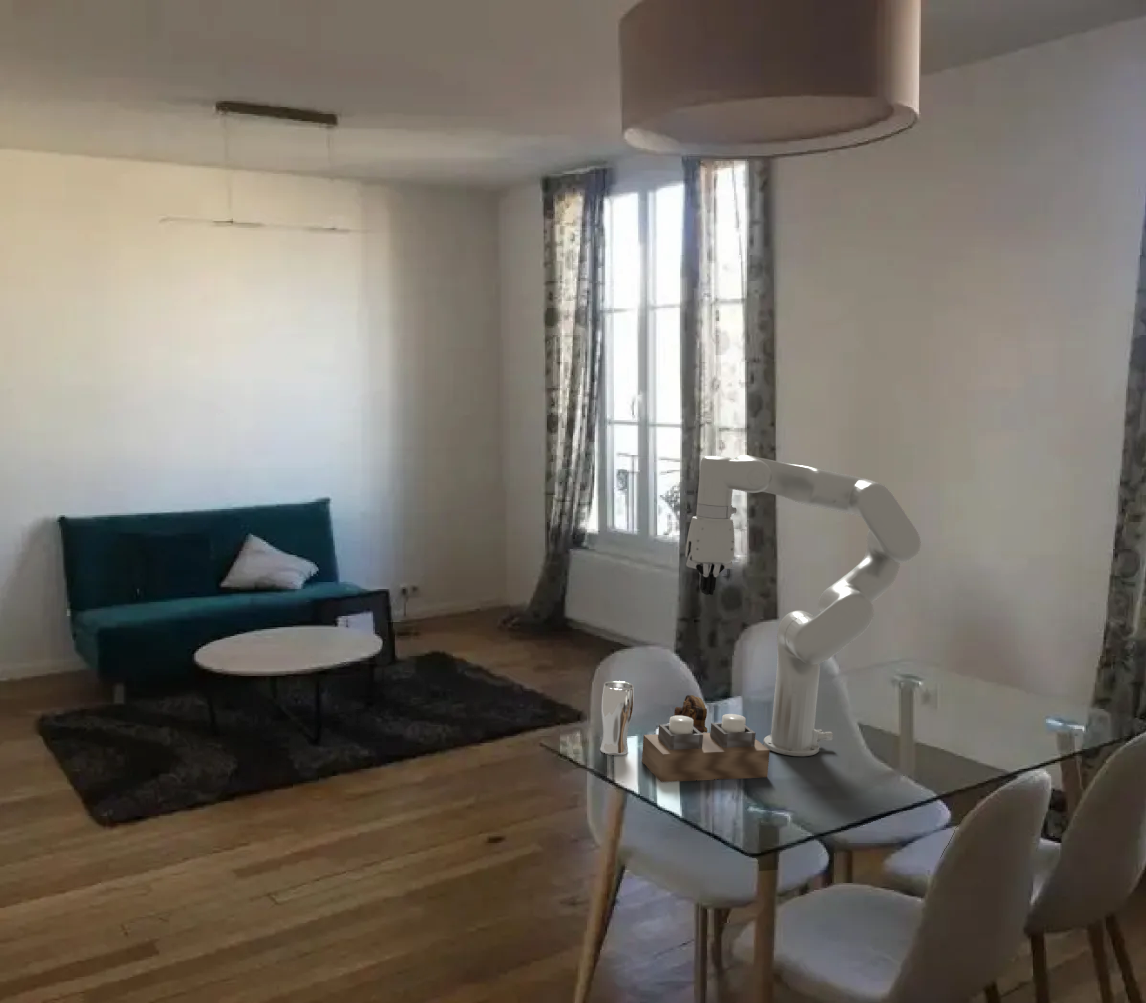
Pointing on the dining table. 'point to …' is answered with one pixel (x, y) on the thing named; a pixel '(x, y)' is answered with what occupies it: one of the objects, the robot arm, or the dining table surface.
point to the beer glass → (616, 716)
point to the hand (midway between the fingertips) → (707, 593)
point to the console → (705, 755)
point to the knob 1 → (681, 725)
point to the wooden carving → (693, 712)
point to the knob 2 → (733, 723)
